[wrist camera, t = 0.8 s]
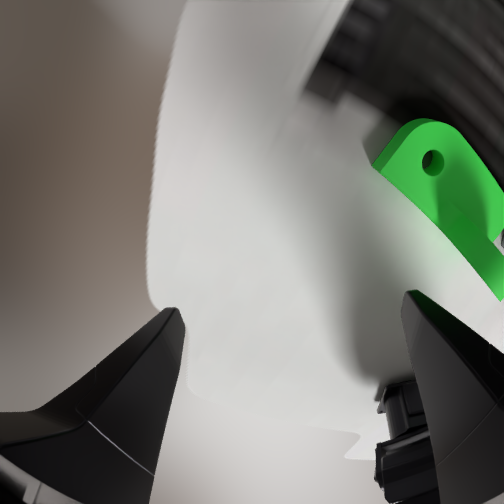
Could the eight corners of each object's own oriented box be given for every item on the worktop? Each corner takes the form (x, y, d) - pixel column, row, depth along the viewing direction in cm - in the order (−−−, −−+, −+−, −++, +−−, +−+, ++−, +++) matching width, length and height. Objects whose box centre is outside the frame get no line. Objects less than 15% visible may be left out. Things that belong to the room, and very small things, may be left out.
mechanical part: (502, 203, 18) (559, 250, 11) (462, 252, 21) (508, 312, 14) (418, 100, 15) (489, 114, 9) (370, 164, 18) (418, 210, 11)
